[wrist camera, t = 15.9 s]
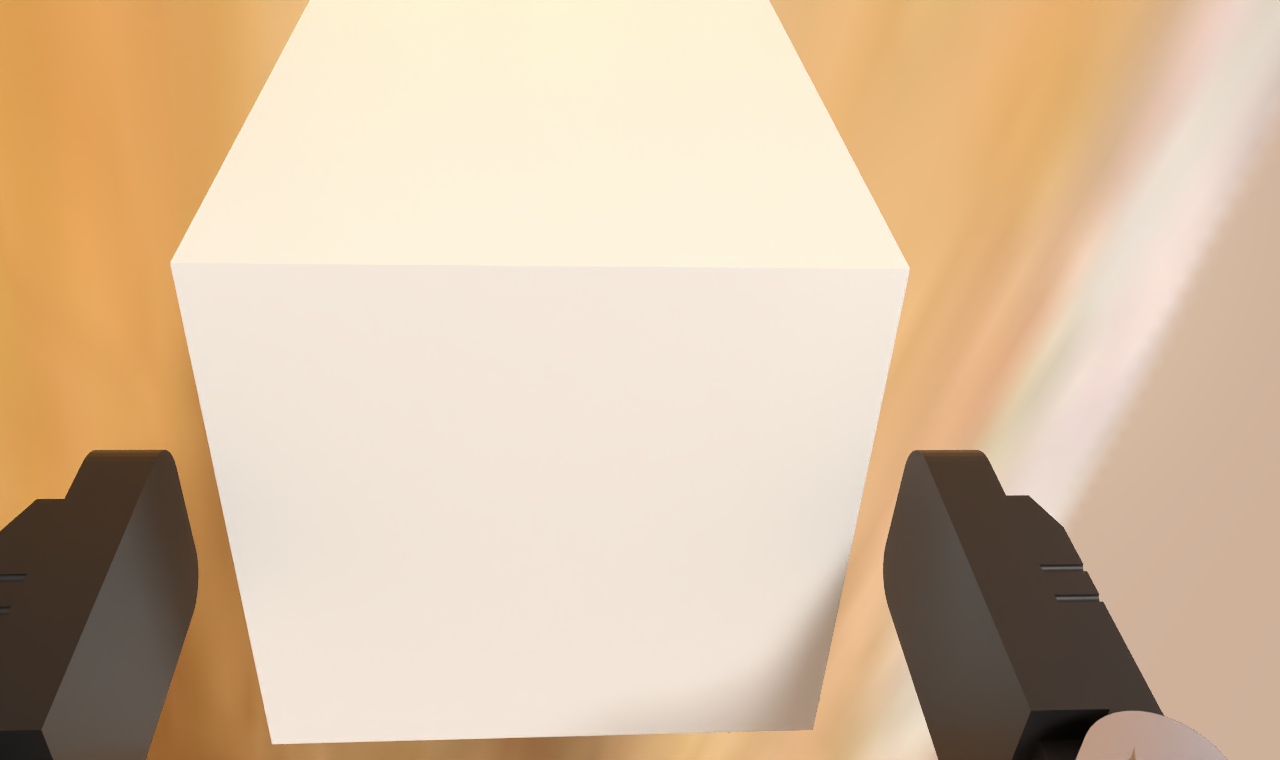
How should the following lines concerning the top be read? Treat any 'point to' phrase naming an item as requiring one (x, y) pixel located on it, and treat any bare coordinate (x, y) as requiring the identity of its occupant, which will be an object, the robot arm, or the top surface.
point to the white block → (539, 369)
